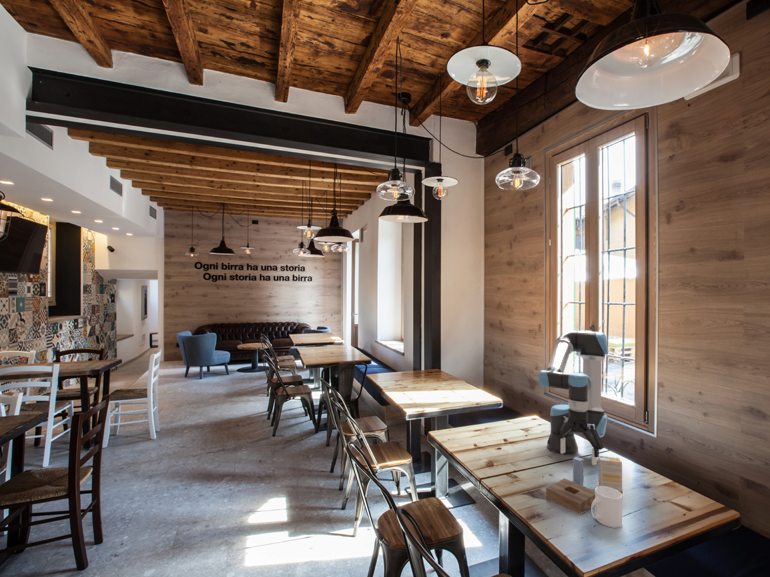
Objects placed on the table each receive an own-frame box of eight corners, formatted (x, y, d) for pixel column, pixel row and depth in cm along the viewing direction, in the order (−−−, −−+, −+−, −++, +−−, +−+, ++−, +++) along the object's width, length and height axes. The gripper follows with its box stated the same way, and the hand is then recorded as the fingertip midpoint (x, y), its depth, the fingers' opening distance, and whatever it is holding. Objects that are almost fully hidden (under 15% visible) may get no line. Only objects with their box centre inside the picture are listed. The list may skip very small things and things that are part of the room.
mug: (582, 517, 138) (582, 488, 138) (608, 512, 141) (608, 484, 141) (600, 531, 130) (600, 501, 130) (628, 526, 133) (627, 496, 133)
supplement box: (619, 488, 159) (619, 457, 159) (622, 493, 155) (622, 462, 155) (597, 484, 162) (597, 454, 162) (600, 490, 157) (600, 459, 157)
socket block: (564, 487, 159) (564, 478, 159) (598, 502, 148) (598, 492, 148) (546, 497, 151) (546, 487, 151) (580, 514, 140) (580, 503, 140)
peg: (576, 483, 162) (576, 456, 163) (583, 486, 160) (583, 459, 160) (573, 485, 161) (573, 458, 161) (580, 488, 158) (579, 460, 158)
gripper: (546, 403, 169) (546, 450, 168) (604, 418, 149) (604, 471, 148) (555, 401, 173) (555, 446, 173) (612, 415, 153) (612, 467, 152)
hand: (578, 458), depth 160 cm, fingers open, 13 cm apart
